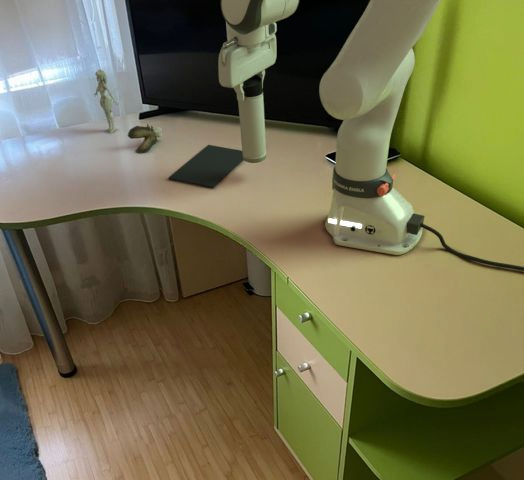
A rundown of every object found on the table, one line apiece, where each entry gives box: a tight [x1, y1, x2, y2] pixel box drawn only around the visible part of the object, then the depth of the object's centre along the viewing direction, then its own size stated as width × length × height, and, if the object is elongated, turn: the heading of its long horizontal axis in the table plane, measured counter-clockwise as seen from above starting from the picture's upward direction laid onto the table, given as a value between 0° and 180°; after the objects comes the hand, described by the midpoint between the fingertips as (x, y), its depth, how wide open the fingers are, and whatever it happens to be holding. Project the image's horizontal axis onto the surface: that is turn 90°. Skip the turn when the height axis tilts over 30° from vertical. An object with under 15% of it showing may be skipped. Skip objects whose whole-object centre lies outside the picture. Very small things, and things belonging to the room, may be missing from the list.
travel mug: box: [237, 75, 267, 164], centre depth 141 cm, size 6×7×20 cm
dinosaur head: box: [127, 123, 163, 154], centre depth 166 cm, size 8×7×9 cm
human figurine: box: [93, 69, 120, 134], centre depth 171 cm, size 12×4×18 cm, turn 47°
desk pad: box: [168, 144, 244, 190], centre depth 157 cm, size 14×22×1 cm, turn 154°
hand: (250, 94), depth 137 cm, fingers closed on travel mug, 6 cm apart
